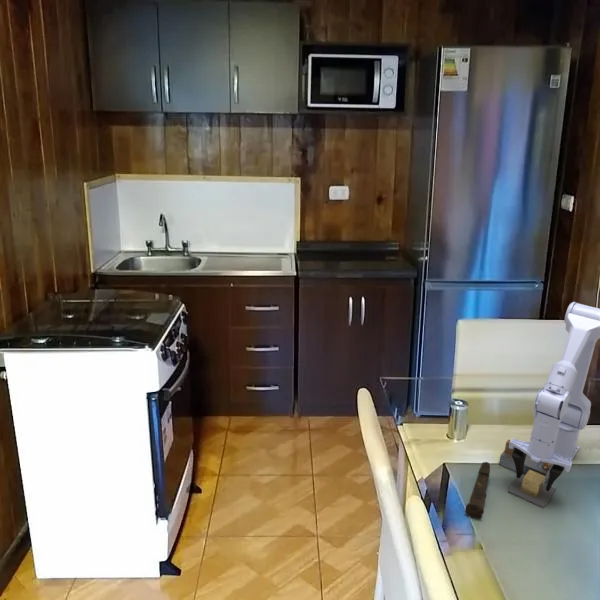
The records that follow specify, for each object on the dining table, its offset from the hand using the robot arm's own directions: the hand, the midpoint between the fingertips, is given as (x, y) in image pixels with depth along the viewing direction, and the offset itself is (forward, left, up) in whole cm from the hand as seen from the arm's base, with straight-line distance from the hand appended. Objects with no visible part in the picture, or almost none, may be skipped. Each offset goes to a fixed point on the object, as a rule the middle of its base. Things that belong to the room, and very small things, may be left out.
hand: (533, 482), depth 150 cm
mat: (0, 0, -3) cm, 3 cm away
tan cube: (0, 0, -2) cm, 2 cm away
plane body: (-8, -4, -3) cm, 10 cm away
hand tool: (+10, -10, -3) cm, 15 cm away
